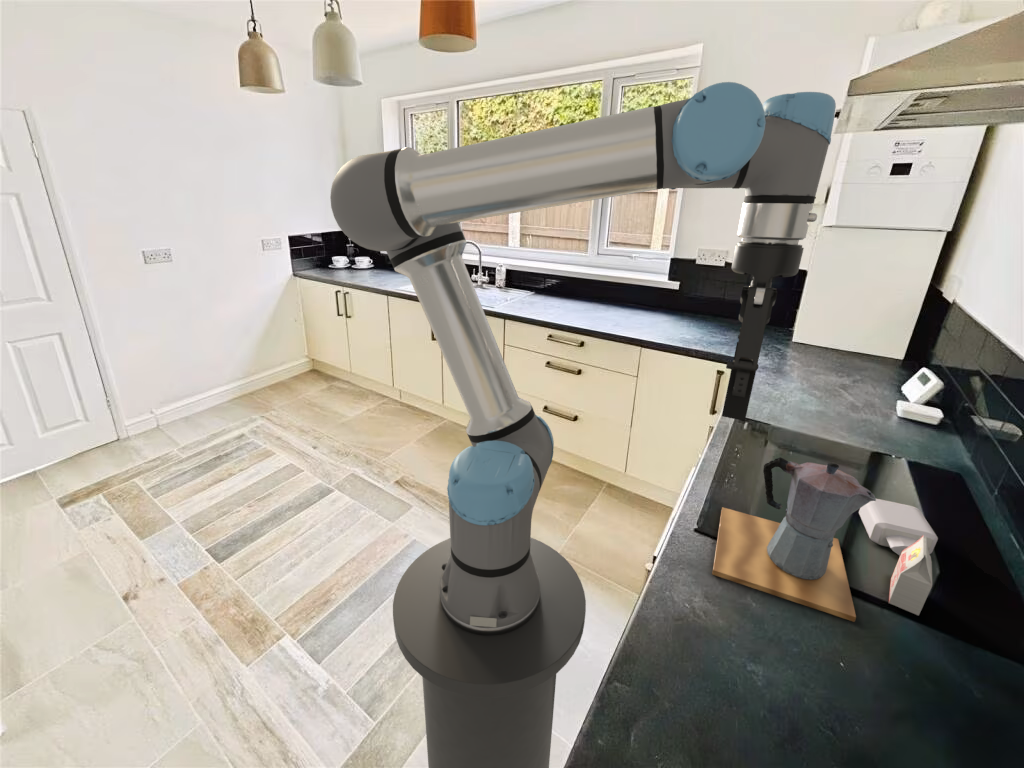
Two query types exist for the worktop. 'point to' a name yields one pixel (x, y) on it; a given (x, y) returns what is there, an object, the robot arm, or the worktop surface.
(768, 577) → the trivet
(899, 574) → the white printed carton
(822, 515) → the moka pot
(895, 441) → the worktop surface
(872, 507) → the charger
